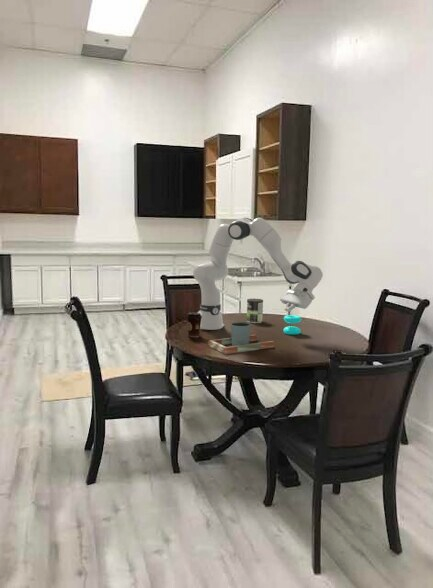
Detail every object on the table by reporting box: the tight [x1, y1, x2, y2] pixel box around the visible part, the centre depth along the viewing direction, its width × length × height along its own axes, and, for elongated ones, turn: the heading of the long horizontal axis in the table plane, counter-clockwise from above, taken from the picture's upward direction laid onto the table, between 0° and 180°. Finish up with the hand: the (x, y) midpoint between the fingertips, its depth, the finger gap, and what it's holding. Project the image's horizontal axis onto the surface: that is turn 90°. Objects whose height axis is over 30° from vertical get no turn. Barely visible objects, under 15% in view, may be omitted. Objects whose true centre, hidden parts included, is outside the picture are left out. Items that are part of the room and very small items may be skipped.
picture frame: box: [207, 334, 275, 355], centre depth 251 cm, size 17×29×3 cm, turn 120°
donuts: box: [283, 314, 302, 336], centre depth 281 cm, size 10×10×10 cm
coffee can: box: [246, 298, 264, 324], centre depth 312 cm, size 10×10×14 cm
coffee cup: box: [185, 311, 202, 338], centre depth 271 cm, size 9×8×13 cm
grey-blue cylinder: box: [230, 321, 251, 346], centre depth 250 cm, size 10×10×12 cm
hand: (286, 310), depth 263 cm, fingers closed
